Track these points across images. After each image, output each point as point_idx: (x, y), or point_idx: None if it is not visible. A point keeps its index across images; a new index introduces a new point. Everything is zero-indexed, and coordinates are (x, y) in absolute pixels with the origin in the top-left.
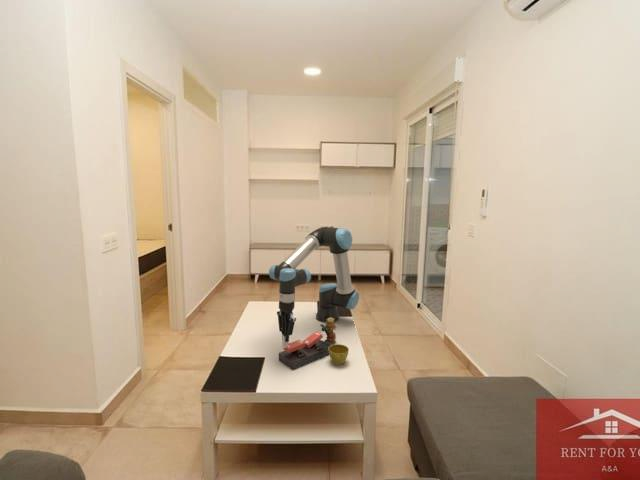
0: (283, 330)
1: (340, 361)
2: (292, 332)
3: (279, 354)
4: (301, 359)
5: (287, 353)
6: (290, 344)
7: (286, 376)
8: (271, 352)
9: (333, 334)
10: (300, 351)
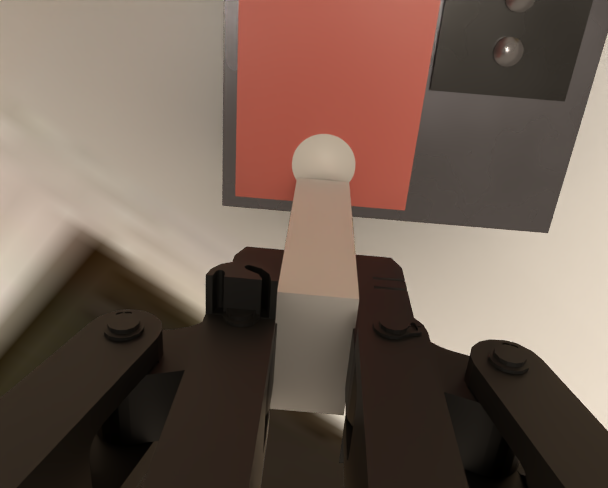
0: (261, 471)
1: None
2: (577, 403)
3: (242, 201)
4: (587, 95)
5: None
6: (292, 82)
7: (534, 301)
8: (21, 110)
9: None
10: None
